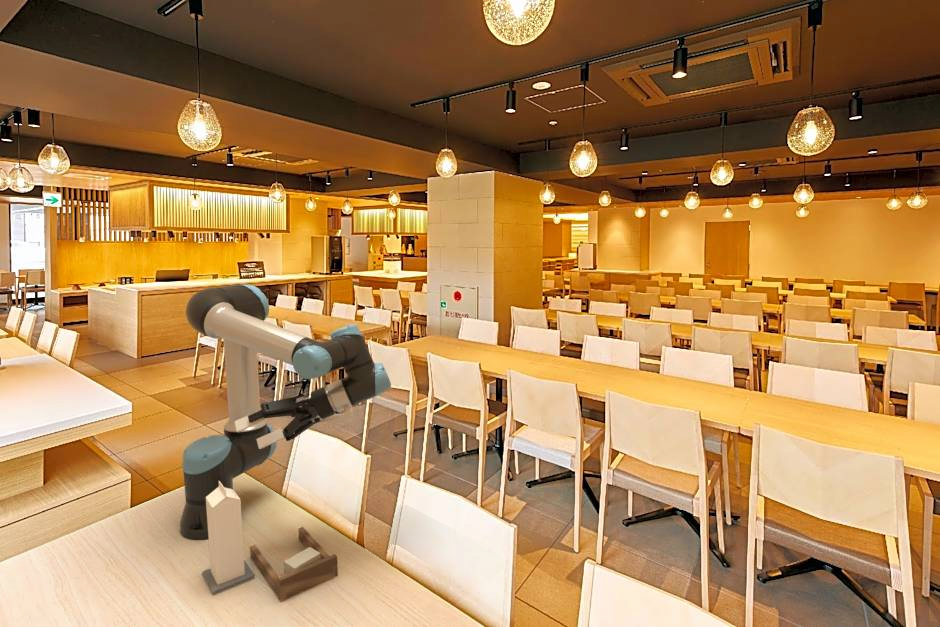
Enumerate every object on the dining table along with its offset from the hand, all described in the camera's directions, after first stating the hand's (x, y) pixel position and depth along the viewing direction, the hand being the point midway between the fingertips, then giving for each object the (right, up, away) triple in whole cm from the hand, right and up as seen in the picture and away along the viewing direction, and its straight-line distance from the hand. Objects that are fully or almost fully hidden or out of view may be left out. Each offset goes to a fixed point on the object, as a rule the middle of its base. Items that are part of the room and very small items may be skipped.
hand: (247, 435), depth 125 cm
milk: (-2, -31, -6) cm, 32 cm away
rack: (+12, -31, -2) cm, 33 cm away
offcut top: (+16, -29, -7) cm, 34 cm away
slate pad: (-2, -32, -6) cm, 32 cm away
